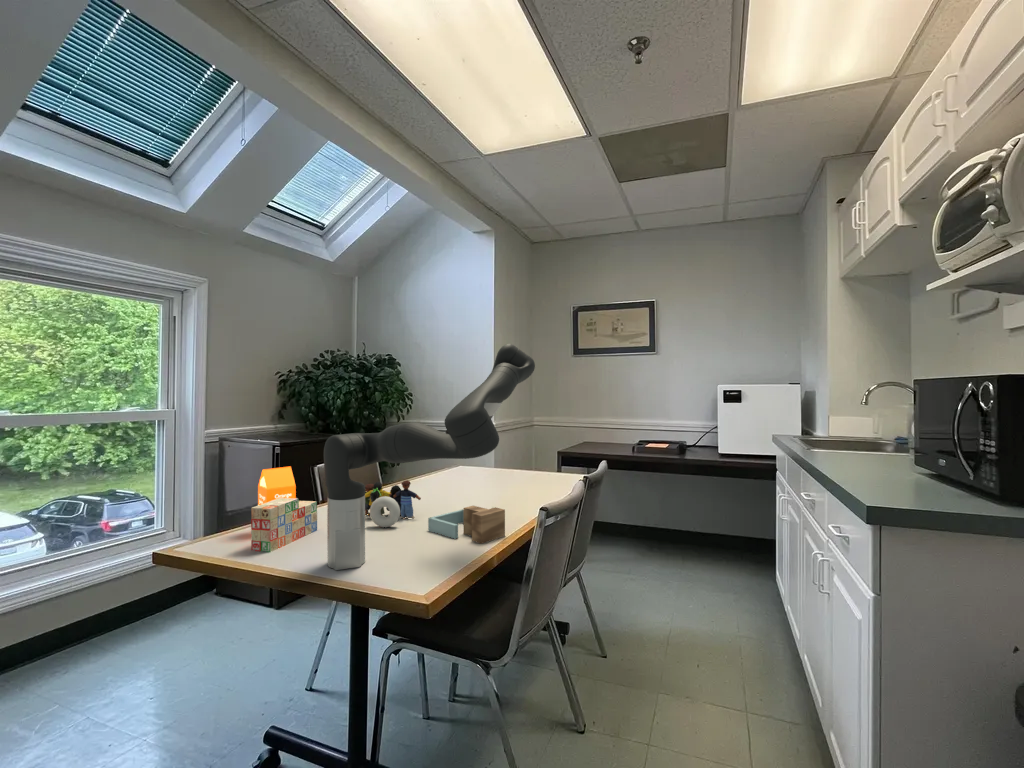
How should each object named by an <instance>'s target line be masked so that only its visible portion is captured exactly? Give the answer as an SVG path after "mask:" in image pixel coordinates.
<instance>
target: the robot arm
mask: <svg viewBox="0 0 1024 768" xmlns="http://www.w3.org/2000/svg"><path fill="white" fill-rule="evenodd" d="M535 369H536V364H535V361H534V359H533V358H532V357H531V356H530V355H528V354H527V353H525V352H524V351H523V350H521V349H520V348H518V346H516V345H514V344H512V343H507V344H504V345H502V346H501V347H500V348H499V350H498V352H497V354H496V357H495V359H494V363H493V366H492V369H491V371H490V373H489V375H488V376H487V377H486V378H485V380H484V381H483V382H482V383H481V384H480V385H478V386H477V387H476V388H475V389H474V390H472V391H471V392H469V394H467V396H465V397H464V398H463V399H462V400H460V401H459V402H458V403H457V404H456V405H455V406H454V407H453V408H452V409H451V410H450V411H449V412H448V413H447V415H446V416H445V419H444V426H445V429H446V430H445V432H443V431H441V430H438V429H436V428H433V427H432V426H429V425H426V424H424V423H420V422H416V421H410V422H405V423H404V422H403V423H399V424H394V425H391V426H388V427H386V428H385V429H383V430H382V431H380V432H372V433H369V432H368V433H367V432H366V433H365V432H362V433H361V432H353V433H343V434H335V435H334V434H333V435H331V436H328V438H327V439H326V441H325V442H324V443H325V444H324V447H323V466H324V467H323V469H324V484H325V489H326V493H327V515H326V516H327V519H326V520H327V524H326V525H327V535H326V536H327V537H326V538H327V545H326V546H327V548H326V549H327V566H328V568H330V569H334V571H339V570H340V571H341V570H346V569H348V570H349V569H355V568H360V567H362V565H363V564H364V563H365V562H366V516H365V492H366V489H365V486H366V485H365V484H364V483H363V482H360V481H355V480H352V479H351V476H350V470H354V469H360V468H363V467H366V466H369V465H373V464H376V463H381V462H387V463H389V464H390V463H391V464H404V463H405V464H406V463H413V462H419V461H420V462H421V461H426V460H427V461H428V460H437V459H438V460H439V459H448V460H449V459H454V460H458V459H460V460H461V459H462V460H467V459H475V458H480V457H482V456H486V455H488V454H490V453H491V452H493V451H494V450H496V449H497V447H498V446H499V443H500V435H499V432H498V430H497V428H496V427H495V424H494V422H493V420H492V419H493V418H494V416H495V414H496V413H497V411H498V410H499V409H500V407H501V406H502V404H503V402H504V401H506V400H507V399H508V398H510V396H511V395H512V394H513V392H514V391H515V389H516V387H517V386H518V385H519V384H520V383H523V382H524V381H526V380H527V379H528V378H529V377H531V376H532V374H533V373H534V371H535Z"/></svg>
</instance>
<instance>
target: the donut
mask: <svg viewBox="0 0 1024 768" xmlns="http://www.w3.org/2000/svg"><path fill="white" fill-rule="evenodd" d="M382 507H384V508H386V507H387V508H388V509H389V511H388V512H389V513H388V516H387V515H386V516H385V515H384V516H382V515H383V514H382V515H381V512H380V511H381V508H382ZM369 512H370V515H369V516H370V519H371V521H372V522H373V523H374V525H377V526H378V527H380V528H384V527H385V528H390V527H391V526H394V525H395V524H396V523H397V522H398V520H399V519H400V517H401V516H400V507H399V505H398V503H397V502H396V501H395V500H394V499H393V498H391V497H387V496H384V497H379V498H377V499H376V500H375V501H374V502H373V503H372V505H371V507H370V509H369Z"/></svg>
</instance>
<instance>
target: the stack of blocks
mask: <svg viewBox="0 0 1024 768" xmlns="http://www.w3.org/2000/svg"><path fill="white" fill-rule="evenodd" d="M317 502H318V501H313V500H299V498H298V497H296V498H278V499H276V500H272V501H269V502H267V503H264V504H261V505H258V504H257V505H255V506H252V507H251V509H250V510H251V511H250V512H251V513H250V514H251V519H250V528H251V529H250V530H251V539H250V540H251V544H250V545H251V550H255V551H254V552H261V551H266V552H265V553H272V552H273V551H277V550H278V548H279V549H281V548H282V546H283V547H285V546H287V545H289V544H292V543H294V542H295V541H297V540H299V539H302V538H303V537H306V536H308V535H310V534H311V533H314V532H316V531H318V503H317ZM291 542H292V543H291ZM271 551H272V552H271Z"/></svg>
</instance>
